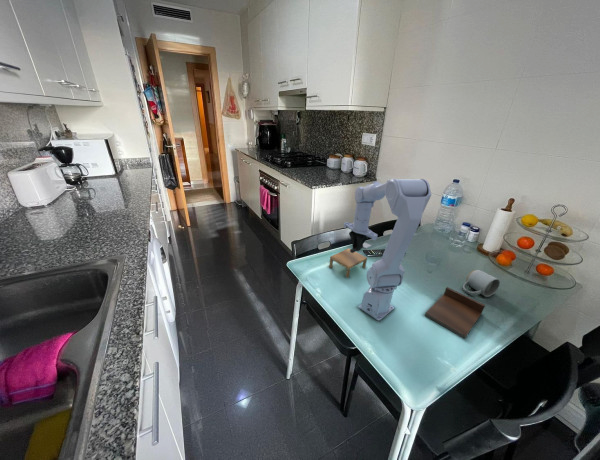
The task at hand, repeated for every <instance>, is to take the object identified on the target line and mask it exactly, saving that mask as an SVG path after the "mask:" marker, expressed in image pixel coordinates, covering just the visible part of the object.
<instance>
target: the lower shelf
mask: <svg viewBox="0 0 600 460" xmlns="http://www.w3.org/2000/svg"><path fill="white" fill-rule="evenodd" d="M485 307H486V304H484V303H482V302H480V301H477V300H476V299H474V298H471V297H469V296H467V295H465V294H463V293H461V292H459V291H457V290H454V289H452V288H451V287H448V286H446V288H445V290H444V292H443V294H442V295H441V296H440V297H439V298H438V299H437V300H436V302H434V304H433V305H431V306H430V308H428V310H426V312H425V313H424V316H425V317H426V318H428V319H430V320H431V321H433V322H435V323H437V324H438V325H440V326H442V327H443V328H446V329H447V330H449V331H451V332H452V333H454V334H455V335H457V336H459V337H461V338H463V339H464V340H465V339H466V337H467V336H468V335H469V333H470V331H471V330H472V329H473V328H474V325H476V323H477V321H478V320H479V318H480V317H481V315H482V313H483V312H484V309H485Z"/></svg>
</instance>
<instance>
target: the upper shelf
mask: <svg viewBox="0 0 600 460" xmlns="http://www.w3.org/2000/svg"><path fill="white" fill-rule="evenodd" d="M350 249H351V248H349V247H348V248H346V249H343V250H342V251H339V252H338V253H335V254H333V255H330V257H329V264H328V267H329V268H333V265H334V262H335V263H337V264H338V265H341V266H342V267H343V268H345V269H346V273H345V278H346V279H347V278H348V279H349V278H350V274H351V269H352V268H355V267H356V266H358V265H360V264H362V266H361V267H362V269H366V266H367V261H368V257H367V256H365V255H363V254H361V253H359V252H358V251H356V252H354V253H351V252H350Z"/></svg>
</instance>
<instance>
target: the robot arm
mask: <svg viewBox="0 0 600 460" xmlns="http://www.w3.org/2000/svg"><path fill="white" fill-rule="evenodd" d="M431 190H432V189H431V187H430V183H429V181H428V180H427V179H425V178H419V179H415V178H414V179H413V178H411V179H407V178H406V179H402V178H401V179H399V178H390V179H387V180H386V182H383V183H381V182H379V181H372V182H371V184H369V183H368V184H366V185H365V186H359V185H358V186H357V187H356V188H355V191H354V200H355V209H354V216H353V222H349V221H346V222H344V223H343V228H344V229H349V230H350V231H349V232H348V236H349V237H350V239H351V245H352V248H354V247H356V246H357V247H356V252H359V251H361V250H362V249H363V248H362V246H363V244H364V242H365V243H366V241H367V240H368V239H369V238H370V239H371V240H372V241H376V240H378V235H379V234H378V233H375V232H373V231H372V230H371V229H369V226H370V225H369V223H370V219H371V213H372V208H373V207H374V204H375V203H376V201H380V200H382V199H384V198H386V201H387V203H388V205H389V209H390V211H391V213H392V214H393V215H394V216H396V217H397V219H396V222H395V224H394V227H393V229H392V231H391V234H390V236H389V239H388V241H387V244H386V247H385V249H384V251H383V254H382V256H381V258H380V259H378V260H376V261H375V262H373V263H372V264H371V266H370V267H369V268H368V269H367V272H366V280H367V283H368V285H369V288H368V289H367V290H366V291H365V292H364V293H363V296H362V301H361V304H360V305H358V308H359V310H361V311H363V312H364V313H366V314H367V315H369V316H370V317H372V318H373V319H375V320H376V321H378V322H379V321H381V320H382V319H384V318H385V317H386V316H387V315H389V313H391V312H392V311H393V310H394V309H395V306H393V305H392V304H391V303H392V300H393V295H394V292H395V290H397V288H398V287H400V286H401V285H402V284H403V282H404V275H405V269H404V267H403V265H402V262H403V260H404V257H405V255H406V253H407V251H408V248H409V246H410V244H411V243H412V240H413V238H414V236H415V234H416V232H417V230H418V227H419V225H420V223H421V220H422V218H423V213H424V212H425V210H426V207H427V205H428V203H429V201H430V199H431V197H432V191H431ZM361 248H362V249H361Z"/></svg>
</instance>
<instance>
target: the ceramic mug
mask: <svg viewBox="0 0 600 460" xmlns="http://www.w3.org/2000/svg"><path fill="white" fill-rule="evenodd" d="M500 284H501V281H500V279H499V278H497V277H495V276H494V275H490V274H489V273H488V272H487V273H486V272H485V271H483V270H480V269H474V270H472V271H470V272H469V273H468V275H467V276H466V278H465V282H464V283H463V285H462V289H463V291H464V292H465V293H466V294H467V295H469V296H477V295H482V296H484V297H485V298H488V297H491V296H493V295H494V294H495V293H496V292H497V291H498V290H499V287H500ZM466 286H469V287H470V288H472V289H473V290H474V291H471V290H468V289H467V288H466Z"/></svg>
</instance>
